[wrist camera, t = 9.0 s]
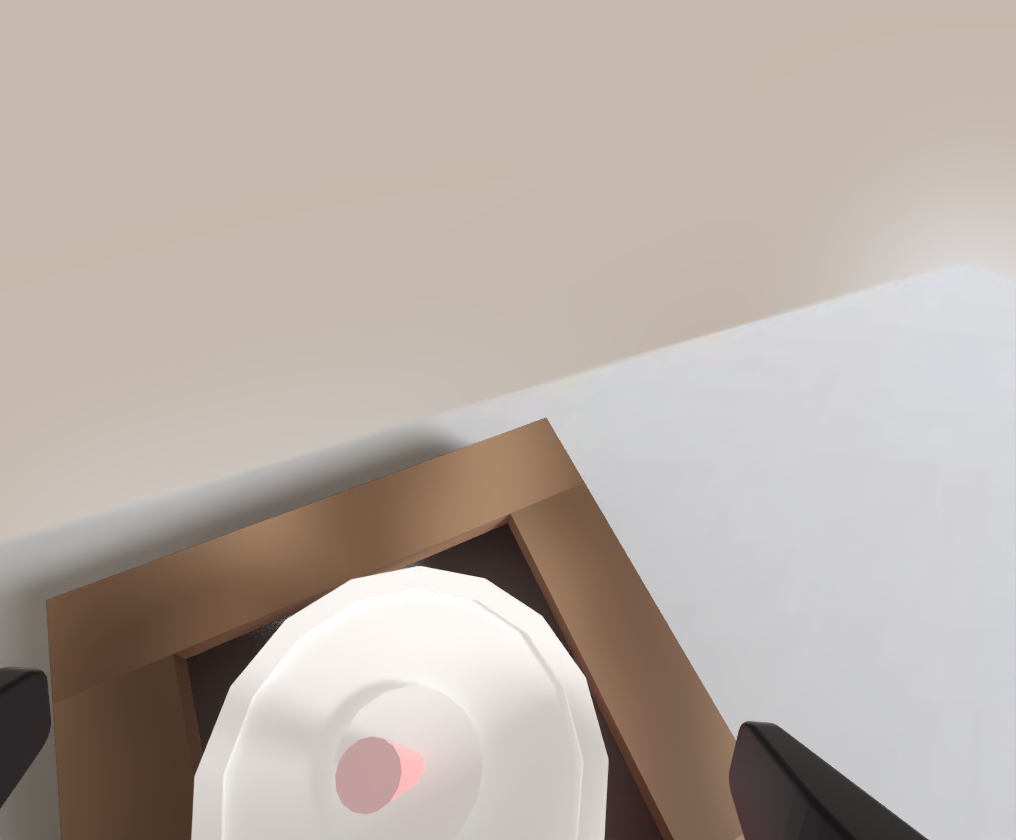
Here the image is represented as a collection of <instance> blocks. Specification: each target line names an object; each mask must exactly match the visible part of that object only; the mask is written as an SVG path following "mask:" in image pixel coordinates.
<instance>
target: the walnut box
mask: <svg viewBox="0 0 1016 840" xmlns="http://www.w3.org/2000/svg"><path fill="white" fill-rule="evenodd" d="M507 523H508V525H509V527H510V529H511V531H512V533H513V535H514V537H515V539H516V541H517V543H518V545H519V547H520V549H521V551H522V553H523V555H524V557H525V559H526V561H527V563H528V565H529V567H530V570H531V572H532V574H533V576H534V578H535V580H536V582H537V584H538V586H539V588H540V590H541V592H542V594H543V596H544V598H545V600H546V602H547V604H548V606H549V608H550V610H551V612H552V614H553V616H554V618H555V620H556V622H557V624H558V626H559V628H560V630H561V632H562V634H563V636H564V638H565V640H566V642H567V644H568V646H569V648H570V650H571V652H572V654H573V657H574V659H575V661H576V663H577V665H578V667H579V669H580V670H581V672H582V673H583V674H584V676H585V677H586V680H587V684H588V687H589V689H590V691H591V693H592V695H593V697H594V699H595V701H596V703H597V705H598V707H599V709H600V711H601V713H602V715H603V717H604V719H605V721H606V723H607V725H608V727H609V729H610V731H611V733H612V735H613V737H614V739H615V742H616V744H617V746H618V748H619V750H620V752H621V754H622V756H623V758H624V760H625V762H626V764H627V766H628V768H629V770H630V772H631V774H632V776H633V778H634V780H635V782H636V784H637V786H638V788H639V790H640V792H641V794H642V796H643V798H644V800H645V802H646V804H647V806H648V808H649V810H650V812H651V814H652V816H653V818H654V820H655V822H656V824H657V827H658V829H659V831H660V833H661V835H662V837H663V839H664V840H745V838H744V835H743V832H742V828H741V825H740V822H739V818H738V815H737V812H736V808H735V805H734V801H733V798H732V795H731V791H730V785H729V770H730V765H731V761H732V757H733V753H734V749H735V744H736V740H735V738H734V737H733V735H732V733H731V732H730V730H729V728H728V726H727V725H726V723H725V721H724V720H723V718H722V716H721V714H720V713H719V711H718V709H717V708H716V706H715V704H714V703H713V701H712V699H711V697H710V696H709V694H708V692H707V691H706V689H705V687H704V685H703V684H702V682H701V680H700V679H699V677H698V675H697V674H696V672H695V670H694V668H693V667H692V665H691V663H690V662H689V660H688V658H687V657H686V655H685V653H684V651H683V650H682V648H681V646H680V645H679V643H678V641H677V639H676V638H675V636H674V634H673V633H672V631H671V629H670V628H669V626H668V624H667V622H666V621H665V619H664V617H663V616H662V614H661V612H660V610H659V609H658V607H657V605H656V604H655V602H654V600H653V599H652V597H651V595H650V593H649V592H648V590H647V588H646V587H645V585H644V583H643V582H642V580H641V578H640V576H639V575H638V573H637V571H636V570H635V568H634V566H633V564H632V563H631V561H630V559H629V558H628V556H627V554H626V553H625V551H624V549H623V547H622V546H621V544H620V542H619V541H618V539H617V537H616V536H615V534H614V532H613V530H612V529H611V527H610V525H609V524H608V522H607V520H606V518H605V517H604V515H603V513H602V512H601V510H600V508H599V507H598V505H597V503H596V501H595V500H594V498H593V496H592V495H591V493H590V491H589V489H588V488H587V486H586V484H585V483H584V481H583V479H582V478H581V476H580V474H579V472H578V471H577V469H576V467H575V466H574V464H573V462H572V461H571V459H570V457H569V455H568V454H567V452H566V450H565V449H564V447H563V445H562V443H561V442H560V440H559V438H558V437H557V435H556V433H555V432H554V430H553V428H552V426H551V425H550V423H549V421H548V420H547V418H544V419H541V420H538V421H535V422H533V423H530V424H527V425H524V426H522V427H519V428H516V429H513V430H511V431H508V432H505V433H503V434H500V435H497V436H494V437H492V438H489V439H486V440H483V441H481V442H478V443H475V444H472V445H470V446H467V447H464V448H461V449H459V450H456V451H453V452H451V453H448V454H445V455H442V456H440V457H437V458H434V459H431V460H429V461H426V462H423V463H420V464H418V465H415V466H412V467H409V468H407V469H404V470H401V471H399V472H396V473H393V474H390V475H388V476H385V477H382V478H379V479H377V480H374V481H371V482H368V483H366V484H363V485H360V486H357V487H355V488H352V489H349V490H347V491H344V492H341V493H338V494H336V495H333V496H330V497H327V498H325V499H322V500H319V501H316V502H314V503H311V504H308V505H305V506H303V507H300V508H297V509H295V510H292V511H289V512H286V513H284V514H281V515H278V516H275V517H273V518H270V519H267V520H264V521H262V522H259V523H256V524H253V525H251V526H248V527H245V528H243V529H240V530H237V531H234V532H232V533H229V534H226V535H223V536H221V537H218V538H215V539H212V540H210V541H207V542H204V543H201V544H199V545H196V546H193V547H191V548H188V549H185V550H182V551H180V552H177V553H174V554H171V555H169V556H166V557H163V558H160V559H158V560H155V561H152V562H149V563H147V564H144V565H141V566H139V567H136V568H133V569H130V570H128V571H125V572H122V573H119V574H117V575H114V576H111V577H108V578H106V579H103V580H100V581H97V582H95V583H92V584H89V585H87V586H84V587H81V588H78V589H76V590H73V591H70V592H67V593H65V594H62V595H59V596H56V597H54V598H51V599H48V600H46V607H47V623H48V638H49V654H50V669H51V684H52V700H53V715H54V730H55V746H56V761H57V776H58V792H59V807H60V823H61V838H62V840H191V836H192V816H193V796H194V777H195V774H196V772H197V769H198V767H199V764H200V762H201V759H202V756H203V750H202V744H201V739H200V733H199V727H198V722H197V716H196V710H195V705H194V699H193V694H192V688H191V682H190V677H189V671H188V665H187V660H186V659H188V658H190V657H192V656H195V655H197V654H199V653H202V652H204V651H207V650H209V649H211V648H214V647H216V646H218V645H221V644H223V643H226V642H228V641H230V640H233V639H235V638H237V637H240V636H242V635H245V634H247V633H249V632H252V631H254V630H256V629H259V628H261V627H263V626H266V625H268V624H271V623H273V622H275V621H278V620H280V619H282V618H285V617H287V616H290V615H292V614H294V613H297V612H299V611H301V610H302V609H304V608H306V607H307V606H309V605H310V604H312V603H314V602H315V601H317V600H319V599H320V598H322V597H323V596H325V595H327V594H328V593H330V592H332V591H333V590H335V589H336V588H338V587H340V586H341V585H343V584H345V583H346V582H348V581H349V580H351V579H356V578H361V577H366V576H371V575H376V574H381V573H386V572H391V571H396V570H398V569H401V568H403V567H406V566H408V565H410V564H413V563H415V562H417V561H420V560H422V559H425V558H427V557H429V556H432V555H434V554H436V553H439V552H441V551H443V550H446V549H448V548H451V547H453V546H455V545H458V544H460V543H462V542H465V541H467V540H470V539H472V538H474V537H477V536H479V535H481V534H484V533H486V532H488V531H491V530H493V529H496V528H498V527H500V526H503V525H505V524H507Z"/></svg>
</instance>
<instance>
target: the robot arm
mask: <svg viewBox="0 0 1016 840" xmlns="http://www.w3.org/2000/svg"><path fill="white" fill-rule="evenodd" d="M50 727H51V716H50V705H49V694H48V683H47V677H46V675H45V674H44V672H43V671H41V670H39V669H33V668H20V667H6V668H2V669H0V808H1V807H2V805H3V804H4V802H5V801H6V800H7V798H8V797H9V795H10V794H11V792H12V791H13V789H14V788H15V787H16V785H17V784H18V782H19V781H20V779H21V778H22V777H23V775H24V774H25V772H26V771H27V769H28V768H29V766H30V765H31V764H32V762H33V761H34V759H35V758H36V756H37V755H38V753H39V752H40V751H41V749H42V747H43V746H44V744H45V742H46V740H47V738H48V735H49V732H50ZM729 785H730V791H731V795H732V798H733V801H734V805H735V808H736V812H737V815H738V818H739V822H740V825H741V828H742V832H743V835H744V838H745V840H928V839H927V838H926V837H924V836H923V835H922V834H920V833H919V832H918V831H916V830H915V829H914V828H912V827H911V826H910V825H908V824H907V823H906V822H904V821H903V820H902V819H900V818H899V817H898V816H896V815H895V814H894V813H893V812H891V811H890V810H889V809H887V808H886V807H885V806H883V805H882V804H881V803H879V802H878V801H877V800H875V799H874V798H873V797H871V796H870V795H869V794H867V793H866V792H865V791H863V790H862V789H861V788H860V787H858V786H857V785H856V784H854V783H853V782H852V781H850V780H849V779H848V778H846V777H845V776H844V775H842V774H841V773H840V772H838V771H837V770H836V769H834V768H833V767H832V766H831V765H829V764H828V763H827V762H825V761H824V760H823V759H821V758H820V757H819V756H817V755H816V754H815V753H813V752H812V751H811V750H809V749H808V748H807V747H805V746H804V745H803V744H801V743H800V742H799V741H798V740H796V739H795V738H794V737H792V736H791V735H790V734H788V733H787V732H786V731H784V730H783V729H782V728H780V727H779V726H777V725H776V724H773V723H767V722H753V721H747V722H744V723H743V724H742V725H741V727H740V729H739V732H738V736H737V740H736V744H735V749H734V753H733V757H732V761H731V765H730V770H729Z"/></svg>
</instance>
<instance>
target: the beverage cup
mask: <svg viewBox="0 0 1016 840" xmlns="http://www.w3.org/2000/svg"><path fill="white" fill-rule="evenodd" d="M608 762H609V759H608V756H607V752H606V749H605V745H604V741H603V738H602V734H601V731H600V727H599V723H598V720H597V716H596V713H595V709H594V705H593V702H592V698H591V695H590V691H589V688H588V684H587V680H586V677H585V676H584V674H583V673H582V672H581V670H580V669H579V667H578V666H577V664H576V663H575V662H574V660H573V659H572V657H571V656H570V655H569V653H568V652H567V650H566V649H565V648H564V646H563V645H562V643H561V642H560V640H559V639H558V638H557V636H556V635H555V633H554V632H553V631H552V629H551V628H550V626H549V625H548V623H547V622H546V621H545V619H544V618H543V616H541V615H540V614H538V613H537V612H535V611H534V610H532V609H531V608H529V607H528V606H526V605H525V604H523V603H522V602H520V601H519V600H517V599H516V598H514V597H512V596H511V595H509V594H508V593H506V592H505V591H503V590H502V589H500V588H499V587H497V586H496V585H494V584H493V583H491V582H490V581H488V580H487V579H485V578H480V577H475V576H470V575H465V574H459V573H454V572H449V571H444V570H439V569H433V568H428V567H423V566H416V567H411V568H406V569H401V570H396V571H391V572H386V573H381V574H376V575H371V576H366V577H361V578H356V579H351V580H349V581H348V582H346V583H345V584H343V585H341V586H340V587H338V588H336V589H335V590H333V591H332V592H330V593H328V594H327V595H325V596H323V597H322V598H320V599H319V600H317V601H315V602H314V603H312V604H310V605H309V606H307V607H306V608H304V609H302V610H301V611H299V612H297V613H296V614H294V615H293V616H291V617H289V618H288V619H286V620H285V621H284V622H283V624H282V625H281V626H280V627H279V628H278V630H277V631H276V632H275V633H274V634H273V636H272V637H271V638H270V639H269V640H268V642H267V643H266V644H265V645H264V647H263V648H262V649H261V650H260V651H259V653H258V654H257V655H256V656H255V657H254V659H253V660H252V661H251V662H250V663H249V665H248V666H247V667H246V668H245V669H244V671H243V672H242V673H241V674H240V675H239V677H238V678H237V679H236V680H235V681H234V683H233V684H232V685H231V686H230V689H229V691H228V694H227V696H226V699H225V701H224V704H223V706H222V709H221V711H220V714H219V716H218V719H217V721H216V724H215V726H214V729H213V731H212V734H211V736H210V739H209V741H208V744H207V746H206V749H205V751H204V754H203V756H202V759H201V762H200V764H199V767H198V769H197V772H196V774H195V777H194V796H193V816H192V836H191V840H604V837H605V818H606V799H607V781H608Z"/></svg>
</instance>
